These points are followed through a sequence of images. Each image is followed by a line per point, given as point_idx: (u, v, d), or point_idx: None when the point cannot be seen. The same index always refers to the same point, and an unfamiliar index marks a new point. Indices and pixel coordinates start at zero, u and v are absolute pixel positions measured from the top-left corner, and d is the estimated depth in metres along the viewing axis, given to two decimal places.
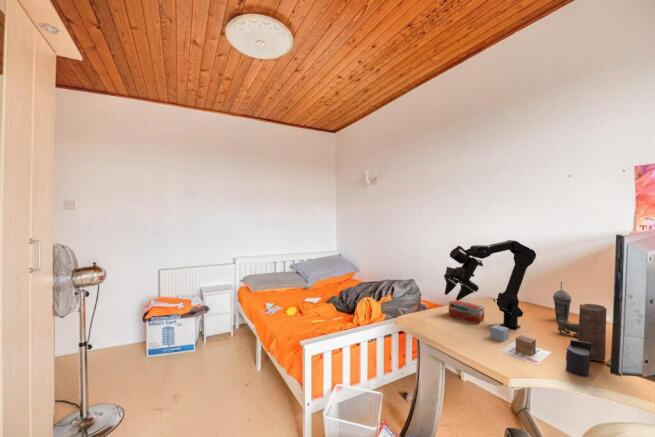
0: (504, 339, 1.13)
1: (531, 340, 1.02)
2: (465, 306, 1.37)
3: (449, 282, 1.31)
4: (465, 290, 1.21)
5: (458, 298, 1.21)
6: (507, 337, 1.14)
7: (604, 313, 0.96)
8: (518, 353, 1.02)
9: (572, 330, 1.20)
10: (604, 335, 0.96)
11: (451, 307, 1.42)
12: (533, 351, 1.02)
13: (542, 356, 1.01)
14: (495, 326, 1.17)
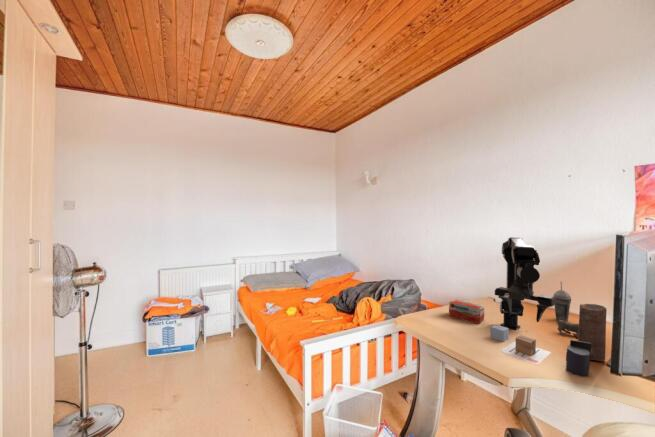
0: (504, 339, 1.13)
1: (531, 340, 1.02)
2: (466, 306, 1.37)
3: (507, 299, 1.08)
4: None
5: (539, 319, 1.00)
6: (507, 337, 1.14)
7: (604, 313, 0.96)
8: (518, 353, 1.02)
9: (572, 330, 1.20)
10: (604, 335, 0.96)
11: (451, 308, 1.41)
12: (533, 351, 1.02)
13: (542, 356, 1.01)
14: (495, 326, 1.17)
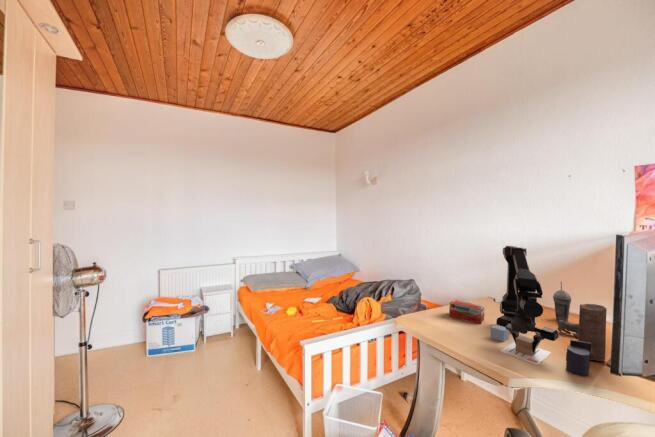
0: (504, 339, 1.13)
1: (531, 340, 1.02)
2: (466, 306, 1.37)
3: (515, 331, 1.06)
4: None
5: (535, 350, 1.01)
6: (507, 337, 1.14)
7: (604, 313, 0.96)
8: (518, 353, 1.02)
9: (572, 330, 1.20)
10: (604, 335, 0.96)
11: (452, 308, 1.41)
12: None
13: (542, 356, 1.01)
14: (495, 326, 1.17)
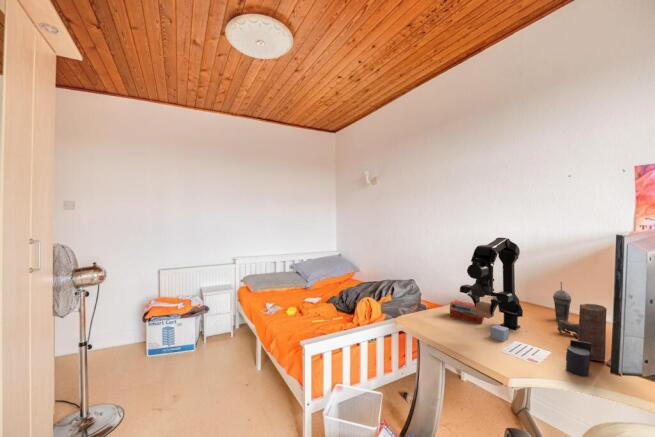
0: (504, 339, 1.13)
1: (489, 304, 1.11)
2: (467, 306, 1.36)
3: (475, 297, 1.14)
4: None
5: (492, 313, 1.10)
6: (507, 337, 1.14)
7: (604, 313, 0.96)
8: (518, 353, 1.02)
9: (572, 330, 1.20)
10: (604, 335, 0.96)
11: (452, 308, 1.41)
12: None
13: (542, 356, 1.01)
14: (495, 326, 1.17)
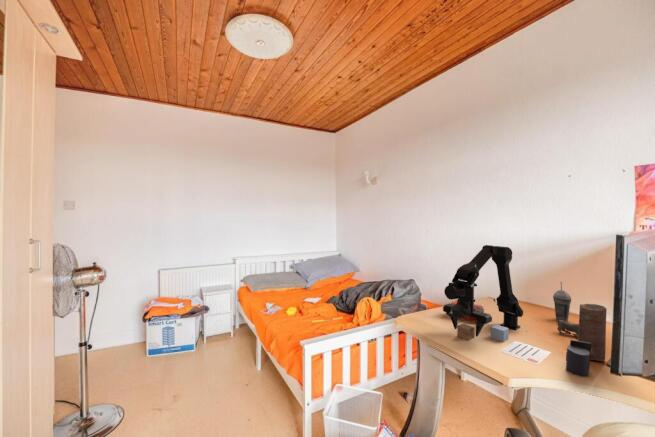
0: (504, 339, 1.13)
1: (470, 327, 1.15)
2: None
3: (453, 315, 1.20)
4: None
5: (477, 334, 1.12)
6: (507, 337, 1.14)
7: (604, 313, 0.96)
8: (518, 353, 1.02)
9: (572, 330, 1.20)
10: (604, 335, 0.96)
11: None
12: (471, 337, 1.15)
13: (542, 356, 1.01)
14: (495, 326, 1.17)
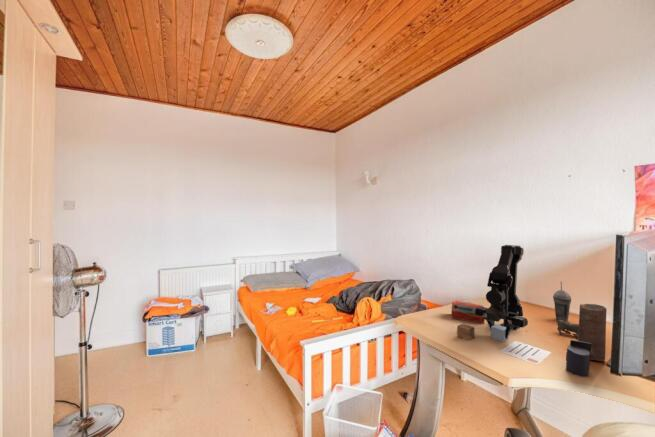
0: (504, 339, 1.13)
1: (470, 327, 1.15)
2: (469, 307, 1.36)
3: (490, 320, 1.18)
4: None
5: (507, 336, 1.13)
6: None
7: (604, 313, 0.96)
8: (518, 353, 1.02)
9: (572, 330, 1.20)
10: (604, 335, 0.96)
11: (454, 309, 1.39)
12: (471, 337, 1.15)
13: (542, 356, 1.01)
14: (495, 326, 1.17)
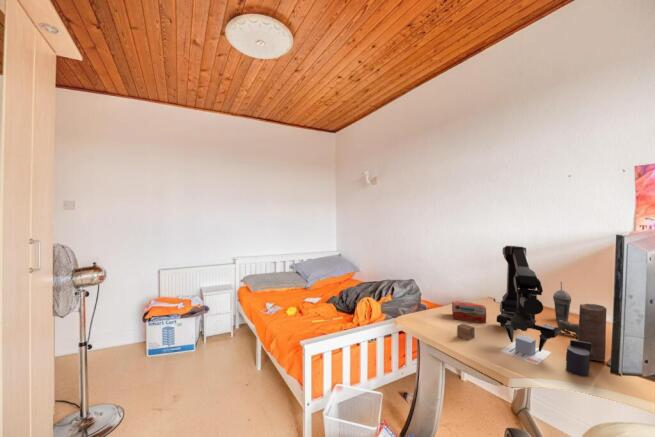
0: (531, 352, 1.01)
1: (470, 327, 1.15)
2: (471, 307, 1.36)
3: (509, 327, 1.07)
4: None
5: (541, 349, 1.00)
6: (534, 349, 1.03)
7: (604, 313, 0.96)
8: (518, 353, 1.02)
9: (572, 330, 1.20)
10: (604, 335, 0.96)
11: (456, 309, 1.38)
12: (471, 337, 1.15)
13: (542, 356, 1.01)
14: (520, 337, 1.05)
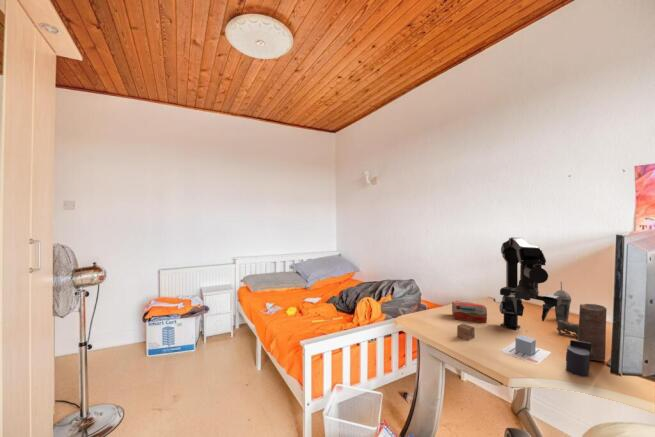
0: (531, 352, 1.01)
1: (470, 327, 1.15)
2: (472, 307, 1.36)
3: (513, 299, 1.09)
4: None
5: (544, 319, 1.02)
6: (534, 349, 1.03)
7: (604, 313, 0.96)
8: (518, 353, 1.02)
9: (571, 330, 1.20)
10: (604, 335, 0.96)
11: (457, 310, 1.38)
12: (471, 337, 1.15)
13: (542, 356, 1.01)
14: (520, 337, 1.05)
